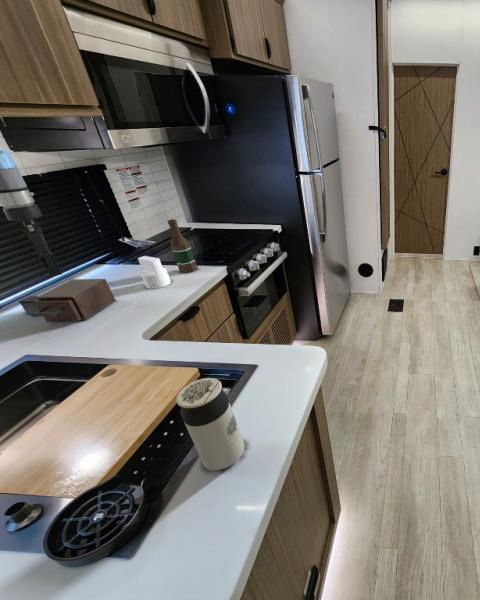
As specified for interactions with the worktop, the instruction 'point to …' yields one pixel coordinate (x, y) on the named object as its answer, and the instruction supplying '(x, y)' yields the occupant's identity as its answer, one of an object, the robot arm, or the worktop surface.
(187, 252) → the beer bottle
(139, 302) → the worktop surface
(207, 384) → the travel mug
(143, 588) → the worktop surface
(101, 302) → the cabinet
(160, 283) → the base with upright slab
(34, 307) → the dark grey rectangular block
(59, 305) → the drawer
